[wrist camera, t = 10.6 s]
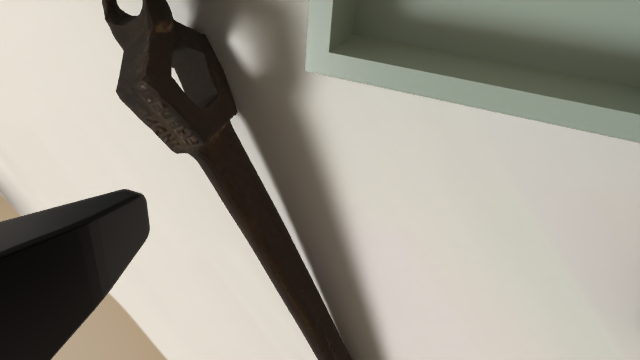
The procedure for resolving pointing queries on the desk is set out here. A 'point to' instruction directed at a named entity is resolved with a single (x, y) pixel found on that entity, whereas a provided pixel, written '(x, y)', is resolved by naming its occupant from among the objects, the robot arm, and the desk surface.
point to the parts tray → (491, 55)
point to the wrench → (213, 148)
